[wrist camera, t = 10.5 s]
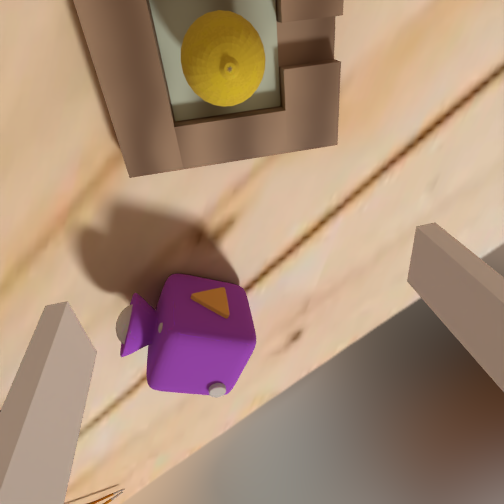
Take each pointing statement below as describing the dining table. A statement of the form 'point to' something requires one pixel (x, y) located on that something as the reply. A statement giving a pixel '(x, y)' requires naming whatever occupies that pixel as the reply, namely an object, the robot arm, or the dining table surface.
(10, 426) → the robot arm
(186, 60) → the lemon
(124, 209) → the dining table surface
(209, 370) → the toy camera
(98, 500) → the electrical component
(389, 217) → the dining table surface
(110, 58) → the pocket board
